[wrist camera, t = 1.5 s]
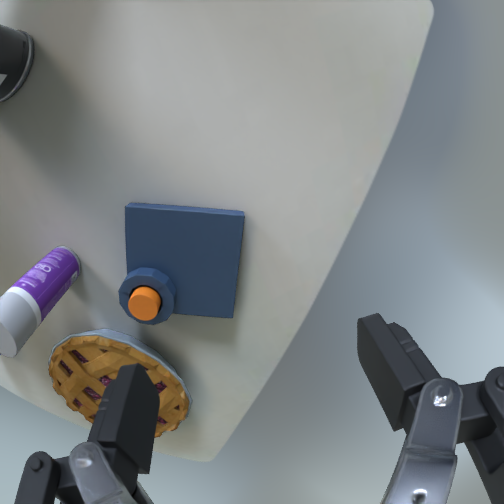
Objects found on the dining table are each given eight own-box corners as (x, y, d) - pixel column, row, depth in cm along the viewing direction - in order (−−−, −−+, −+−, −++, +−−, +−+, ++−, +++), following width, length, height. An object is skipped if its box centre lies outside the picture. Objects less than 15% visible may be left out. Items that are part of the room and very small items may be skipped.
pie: (223, 385, 40) (223, 412, 36) (139, 432, 45) (135, 454, 40) (98, 289, 33) (82, 311, 28) (39, 363, 37) (27, 383, 33)
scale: (129, 304, 34) (121, 320, 31) (125, 202, 29) (113, 210, 26) (232, 314, 35) (232, 332, 32) (243, 211, 31) (245, 221, 28)
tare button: (133, 309, 31) (129, 319, 29) (131, 284, 30) (126, 293, 28) (161, 313, 31) (158, 322, 29) (160, 287, 30) (157, 296, 28)
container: (72, 242, 30) (-1, 312, 17) (86, 277, 32) (26, 358, 18) (45, 250, 30) (-28, 316, 17) (58, 283, 32) (-3, 358, 18)
